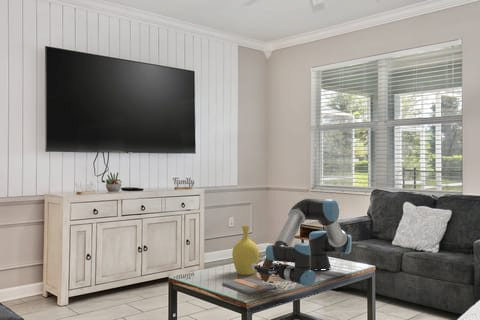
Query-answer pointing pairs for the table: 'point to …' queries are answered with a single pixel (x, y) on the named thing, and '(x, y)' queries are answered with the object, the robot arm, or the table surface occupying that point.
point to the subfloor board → (249, 286)
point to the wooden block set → (266, 264)
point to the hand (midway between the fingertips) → (259, 264)
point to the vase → (245, 254)
